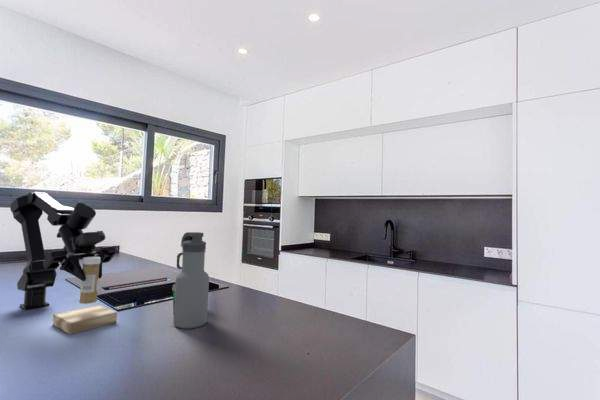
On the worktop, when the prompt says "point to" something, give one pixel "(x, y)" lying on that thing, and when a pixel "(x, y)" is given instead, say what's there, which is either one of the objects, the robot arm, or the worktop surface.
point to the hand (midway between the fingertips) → (92, 278)
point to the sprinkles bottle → (90, 280)
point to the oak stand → (84, 319)
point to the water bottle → (191, 283)
